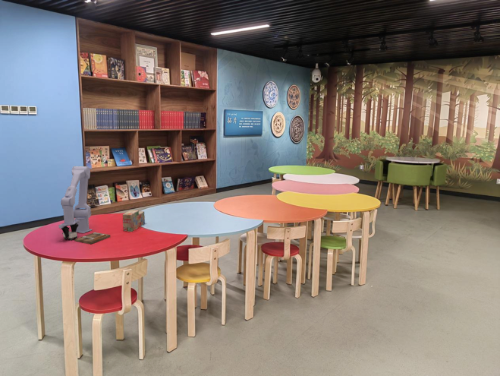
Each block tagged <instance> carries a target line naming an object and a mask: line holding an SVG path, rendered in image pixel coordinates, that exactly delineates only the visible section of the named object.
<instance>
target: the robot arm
mask: <svg viewBox="0 0 500 376" xmlns="http://www.w3.org/2000/svg"><path fill="white" fill-rule="evenodd" d="M90 169H91V168H90V167H89V166H85V165H84V166H83V165H82V166H80V165H78V166H77V165H74V166H72V167H71V174H72V177H71V181H70V186H67V188H66V191H65V193H64V196H63V197H62V198H61V199H60V205H61V207H62V209H63V223H61V224H58V229H60V230H61V231H62V233H63V232H64V235H65V237H66V238H67V239H69V231H70V232H76V233H80V234H85V233H88V232H91V231H93V229H92V228H90V224H89V223H90V221H89V218H90V217H91V216H92V211H91V208H92V207H91V206H90V205H88V203H87V202H88V201H87V200H88V184H89V180H90V178H91V170H90ZM78 184H79V188H77V187H78ZM78 189H79V190H78ZM77 191H78V204H76V205H75V203H76V195H77ZM69 226H70V227H69ZM70 229H71V230H70Z"/></svg>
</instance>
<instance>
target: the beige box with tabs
mask: <svg viewBox="0 0 500 376" xmlns="http://www.w3.org/2000/svg"><path fill="white" fill-rule="evenodd" d="M62 236H63V239H64V240H69V241H72V240H75V239H77V238H78V232H71V230H69V238H66V237H65V235H64V232H63V231H62Z"/></svg>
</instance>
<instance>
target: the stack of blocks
mask: <svg viewBox="0 0 500 376" xmlns="http://www.w3.org/2000/svg"><path fill="white" fill-rule="evenodd" d="M145 216H146V215H145V211H142V210H137V209H130V210H128V211H126V212H125V213H123V214H122V226H123V227H122V229H123V232H128V233H132V232H134V231H136V230H137V229H138V228H140V227H142V226H143V225H145V224H146V220H145V218H146V217H145ZM144 223H145V224H144ZM141 225H142V226H141Z"/></svg>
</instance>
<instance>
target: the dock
mask: <svg viewBox="0 0 500 376" xmlns="http://www.w3.org/2000/svg"><path fill="white" fill-rule="evenodd" d="M109 238H111V234H108V233H102V232H90V233H89V234H86V235H83V236H80V237H77V238H76V239H73V240H74V242H78V243H83V244H89V245H94V244H96V243H99V242H101V241H104V240H107V239H109Z"/></svg>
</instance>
